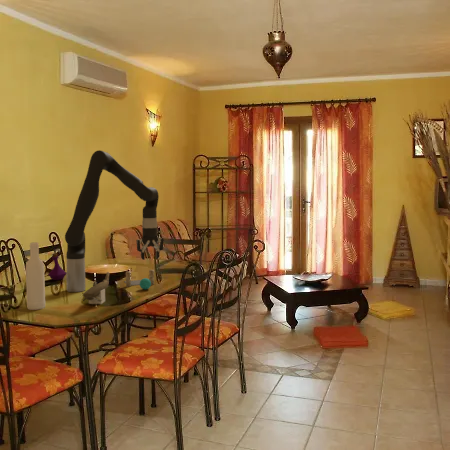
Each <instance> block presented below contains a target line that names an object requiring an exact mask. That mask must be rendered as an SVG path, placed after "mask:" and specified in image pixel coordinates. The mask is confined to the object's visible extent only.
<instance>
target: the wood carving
mask: <svg viewBox="0 0 450 450" xmlns="http://www.w3.org/2000/svg"><path fill="white" fill-rule="evenodd" d="M109 280H110V272H109V271H107V272H106V275H105V278H104V279H102V281H101V282H99V283H97V280H94V281H93V283H92V284H93V285H92V286H91V287H90V288H89V289H87V290H86V291H84V293H82V296H83V297H84V298H83V300H82V301H83V302H84V301H86V300H88V304H91V305H102V304H103V303H105V302H106V290H107V289H108V287H109V285H110V284H109V282H110V281H109Z"/></svg>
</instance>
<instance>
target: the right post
mask: <svg viewBox="0 0 450 450" xmlns="http://www.w3.org/2000/svg"><path fill="white" fill-rule="evenodd" d="M148 273H149V274H148V279H149V280H150V281H151V286H153V285H155V270H154V269H149V270H148Z"/></svg>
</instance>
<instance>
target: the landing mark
mask: <svg viewBox="0 0 450 450" xmlns="http://www.w3.org/2000/svg"><path fill="white" fill-rule="evenodd" d="M141 280H142V279H137V280H131V287H132V286H140V281H141ZM123 282H124V283H125V284H126V280H125V281H123Z"/></svg>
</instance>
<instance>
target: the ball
mask: <svg viewBox="0 0 450 450" xmlns="http://www.w3.org/2000/svg"><path fill="white" fill-rule="evenodd" d="M140 280H141V281H140V285H139V287H140V288H141V289H143V290H149V289H150V288H151V286H152V285H151V281H150V280H149V278H145V277H144V278H141V279H140Z"/></svg>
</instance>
